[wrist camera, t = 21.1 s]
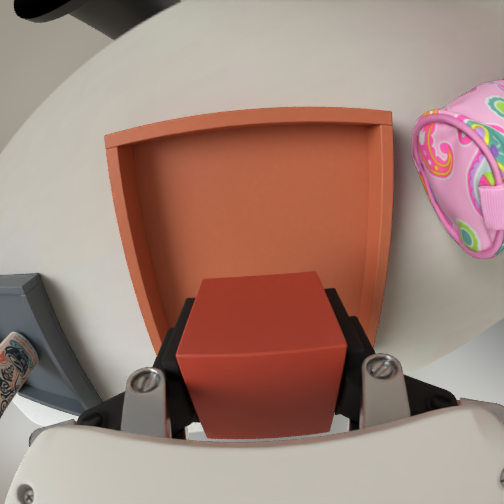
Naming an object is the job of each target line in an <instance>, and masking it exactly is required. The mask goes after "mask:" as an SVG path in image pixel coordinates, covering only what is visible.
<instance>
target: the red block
mask: <svg viewBox="0 0 504 504" xmlns="http://www.w3.org/2000/svg"><path fill="white" fill-rule="evenodd" d="M346 352H347V342H346V340H345V338H344V335H343V333H342V330H341V328H340V325H339V323H338V321H337V318H336V316H335V313H334V311H333V309H332V306H331V304H330V302H329V299H328V297H327V295H326V293H325V290H324V288H323V286H322V283H321V281H320V279H319V277H318V274H317V272H316V271H310V272H298V273H285V274H272V275H258V276H243V277H227V278H211V279H203V280H202V282H201V285H200V288H199V290H198V293H197V296H196V299H195V301H194V304H193V307H192V310H191V312H190V315H189V318H188V321H187V324H186V326H185V329H184V332H183V335H182V338H181V341H180V344H179V346H178V349H177V352H176V358H177V361H178V364H179V367H180V370H181V373H182V376H183V378H184V381H185V384H186V387H187V389H188V392H189V395H190V397H191V400H192V402H193V405H194V407H195V410H196V412H197V415H198V417H199V420H200V422H201V425H202V427H203V429H204V432H205V434H206V436H207V438H212V439H258V438H259V439H261V438H278V437H291V436H301V435H310V434H317V433H324V432H329V431H330V427H331V424H332V420H333V416H334V412H335V408H336V403H337V399H338V394H339V389H340V384H341V379H342V374H343V369H344V363H345V358H346Z"/></svg>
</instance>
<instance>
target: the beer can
mask: <svg viewBox="0 0 504 504" xmlns="http://www.w3.org/2000/svg"><path fill="white" fill-rule="evenodd" d="M38 362H39V359H38V356H37V353H36V350H35V348H34V347H33V345H32V344H31V343H30V341H29V340H28V339H27V338H25V337H24V336H23V335H21V334H19V333H17V332H11V333H10V334H9V335H8V336H7V337H6V338H5V339H4V340H3V342H2V343H1V344H0V418H1V416H2V415H3V413H4V411H5V410H6V408H7V407H8V405H9V404H10V402H11V401H12V399H13V398H14V396H15V395H16V393H17V392H18V390H19V389H20V387H21V386H22V384H23V383H24V382H25V380H26V379H27V377H28V376H29V375H30V373H31V372H32V370H33V369H34V368H35V366H36V365H37V364H38Z"/></svg>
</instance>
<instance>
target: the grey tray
mask: <svg viewBox="0 0 504 504" xmlns="http://www.w3.org/2000/svg"><path fill="white" fill-rule="evenodd" d="M11 332H17V333H19V334H21V335H23V336H24V337H25V338H27V339H28V340H29V341H30V343H31V344H32V345H33V347H34V348H35V350H36V353H37V356H38V359H39V362H38V364H37V365H36V366H35V368H34V369H33V370H32V372H31V373H30V375H29V376H28V377H27V379H26V380H25V382H24V383H23V384H22V386H21V387H20V389H19V390H18V392H17V393H18V394H19V395H20V396H22V397H24V398H27V399H29V400H32V401H34V402H37V403H40V404H42V405H45V406H48V407H51V408H54V409H57V410H60V411H63V412H66V413H69V414H72V415H76V416H80V415H81V414H82V413H83V412H84V411H86V410H88V409H90V408H92V407H94V406H96V405H98V404H100V403H102V400H101V399H100V397H99V396H98V394H97V392H96V391H95V389H94V388H93V386H92V385H91V383H90V381H89V380H88V378H87V376H86V375H85V373H84V371H83V369H82V368H81V366H80V364H79V362H78V361H77V359H76V357H75V355H74V353H73V351H72V349H71V347H70V346H69V344H68V342H67V340H66V338H65V335H64V333H63V331H62V329H61V327H60V325H59V323H58V321H57V318H56V316H55V314H54V311H53V309H52V307H51V304H50V302H49V299H48V297H47V294H46V292H45V289H44V286H43V284H42V281H41V278H40V275H39V273H35V274H16V275H0V344H1V343H2V342H3V340H4V339H5V338H6V337H7V336H8V335H9V334H10V333H11Z"/></svg>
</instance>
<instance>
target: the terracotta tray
mask: <svg viewBox="0 0 504 504" xmlns="http://www.w3.org/2000/svg"><path fill="white" fill-rule="evenodd" d="M391 125H393V124H392V112H391V111H383V110H372V109H360V108H342V107H278V108H260V109H247V110H236V111H226V112H218V113H210V114H203V115H196V116H190V117H184V118H178V119H173V120H167V121H162V122H157V123H153V124H148V125H143V126H139V127H135V128H131V129H127V130H123V131H119V132H115V133H112V134H108V135H105V136H104V138H105V147H106V155H107V163H108V171H109V177H110V184H111V190H112V196H113V202H114V207H115V212H116V217H117V222H118V227H119V232H120V236H121V240H122V245H123V249H124V253H125V257H126V261H127V265H128V269H129V272H130V276H131V280H132V283H133V287H134V290H135V293H136V297H137V300H138V303H139V307H140V310H141V313H142V316H143V319H144V322H145V325H146V328H147V331H148V333H149V336H150V339H151V342H152V345H153V347H154V350H155V353H156V355H158V352H159V350H160V347H161V345H162V343H163V340H164V338H165V336H166V333H167V331H168V329H169V328H174V327H175V325H176V322H177V320H178V317H179V315H180V313H181V310H182V308H183V305H184V303H185V301H186V299H187V298H196V296H197V293H198V290H199V288H200V285H201V282H202V280H203V279H211V278H227V277H243V276H258V275H272V274H285V273H298V272H310V271H316V272H317V274H318V277H319V279H320V281H321V283H322V286H323V288H324V289H327V288H335V289H336V291H337V293H338V295H339V297H340V299H341V301H342V303H343V305H344V307H345V309H346V311H347V313H348V315H349V316H357V318H358V320H359V321H360V323H361V325H362V327H363V329H364V331H365V333H366V335H367V337H368V339H369V341H370V343H371V345H372V347H373V346H374V342H375V337H376V333H377V328H378V323H379V318H380V313H381V307H382V302H383V296H384V289H385V283H386V276H387V268H388V260H389V251H390V241H391V229H392V214H393V189H394V152H393V128H392V126H391Z"/></svg>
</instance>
